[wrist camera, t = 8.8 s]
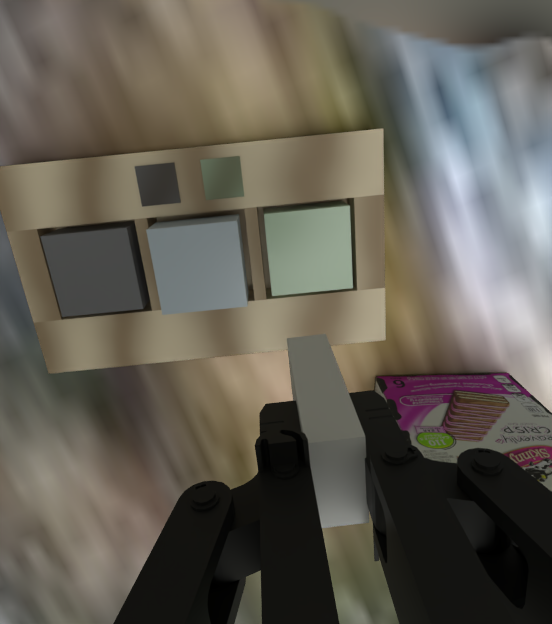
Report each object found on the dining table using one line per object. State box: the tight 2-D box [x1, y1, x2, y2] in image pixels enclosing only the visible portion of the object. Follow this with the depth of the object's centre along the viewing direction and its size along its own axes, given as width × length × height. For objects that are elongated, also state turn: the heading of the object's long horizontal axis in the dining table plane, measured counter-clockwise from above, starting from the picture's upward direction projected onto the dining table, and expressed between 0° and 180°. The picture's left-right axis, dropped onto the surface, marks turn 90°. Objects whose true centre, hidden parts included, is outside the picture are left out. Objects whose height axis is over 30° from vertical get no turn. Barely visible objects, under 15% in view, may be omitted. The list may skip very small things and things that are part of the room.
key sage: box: [263, 201, 353, 296], centre depth 31 cm, size 5×5×3 cm
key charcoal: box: [40, 221, 150, 317], centre depth 31 cm, size 5×5×3 cm
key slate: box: [146, 214, 248, 315], centre depth 29 cm, size 5×5×3 cm
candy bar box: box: [375, 373, 552, 491], centre depth 30 cm, size 11×5×16 cm, turn 91°
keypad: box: [0, 129, 386, 374], centre depth 31 cm, size 24×14×3 cm, turn 95°
